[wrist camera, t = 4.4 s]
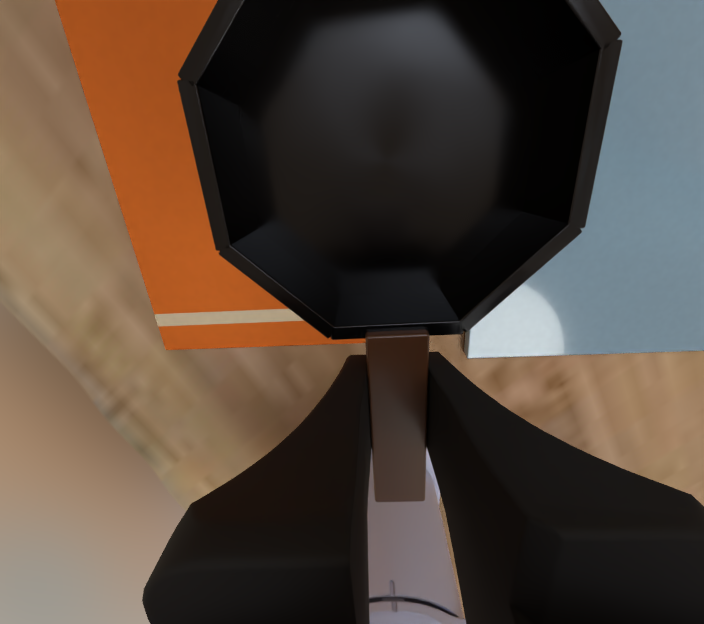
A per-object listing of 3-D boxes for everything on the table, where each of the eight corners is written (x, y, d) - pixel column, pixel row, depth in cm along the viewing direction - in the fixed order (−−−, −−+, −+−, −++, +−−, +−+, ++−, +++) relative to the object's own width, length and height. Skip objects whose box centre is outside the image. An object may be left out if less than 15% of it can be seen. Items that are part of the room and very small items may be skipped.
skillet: (206, -17, 8) (123, -113, 5) (565, -55, 8) (680, -181, 5) (289, 436, 14) (270, 505, 11) (499, 430, 13) (535, 500, 10)
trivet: (709, 343, 19) (722, 350, 19) (463, 351, 20) (467, 358, 19) (886, -89, 12) (920, -105, 12) (497, -51, 13) (504, -64, 12)
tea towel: (396, 339, 20) (396, 342, 20) (168, 347, 21) (165, 350, 20) (392, -152, 12) (393, -160, 12) (24, -111, 13) (16, -117, 13)
